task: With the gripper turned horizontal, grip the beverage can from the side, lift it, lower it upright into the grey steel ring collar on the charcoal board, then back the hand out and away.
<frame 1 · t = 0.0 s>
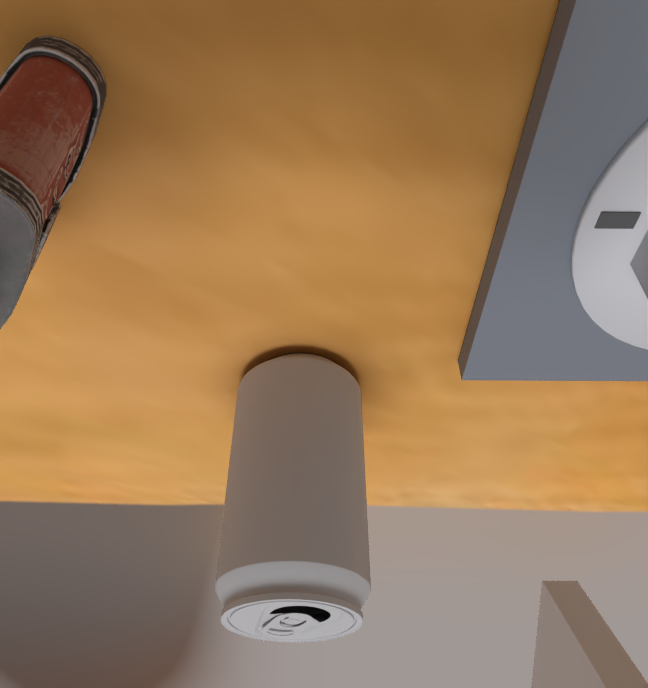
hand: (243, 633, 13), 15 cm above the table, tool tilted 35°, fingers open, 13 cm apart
brown piece: (36, 136, 21), on the table
beverage can: (299, 381, 32), on the table
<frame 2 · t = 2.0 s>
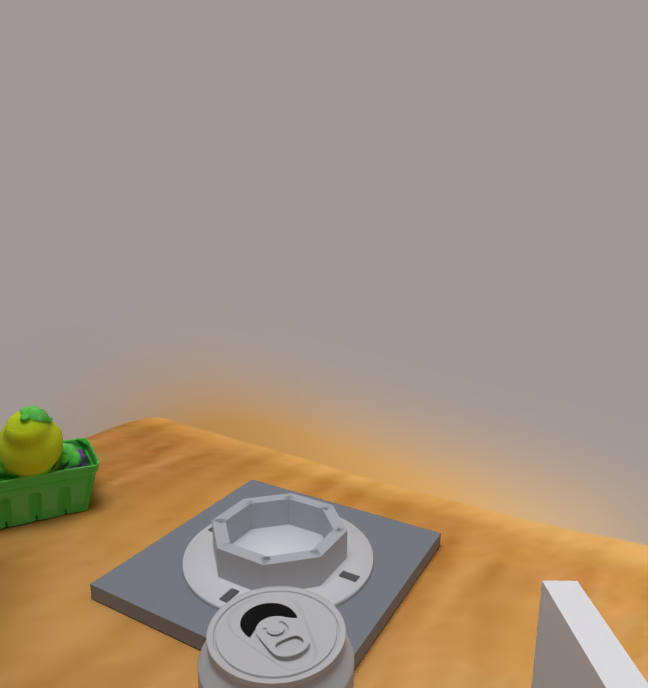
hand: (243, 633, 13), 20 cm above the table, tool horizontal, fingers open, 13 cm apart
fruit basket: (35, 514, 57), on the table
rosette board: (279, 570, 48), on the table
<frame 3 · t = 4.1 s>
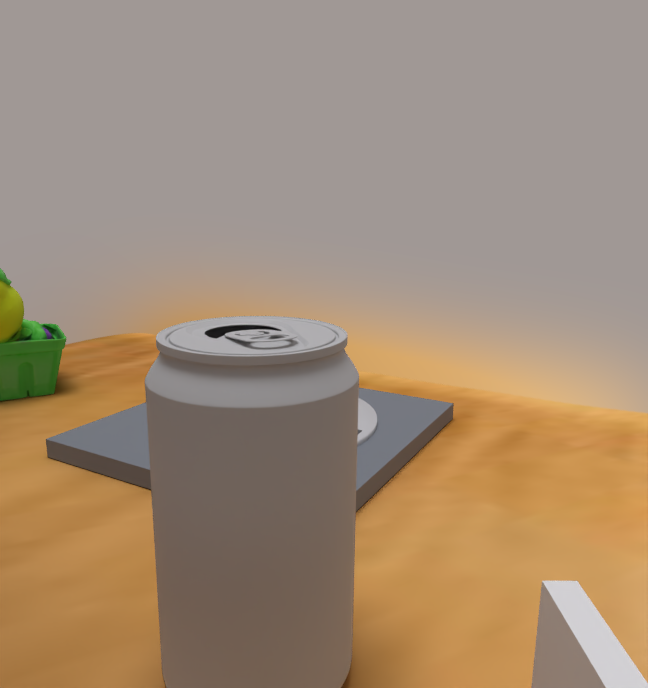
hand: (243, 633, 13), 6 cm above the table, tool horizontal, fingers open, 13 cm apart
beverage can: (259, 675, 21), on the table
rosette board: (268, 436, 42), on the table
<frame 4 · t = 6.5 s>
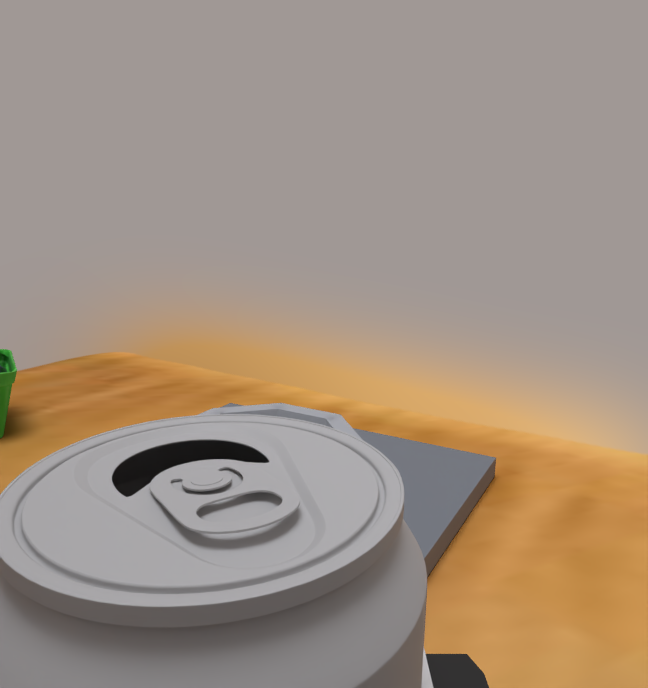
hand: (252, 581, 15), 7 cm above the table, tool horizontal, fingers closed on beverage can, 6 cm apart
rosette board: (262, 504, 32), on the table
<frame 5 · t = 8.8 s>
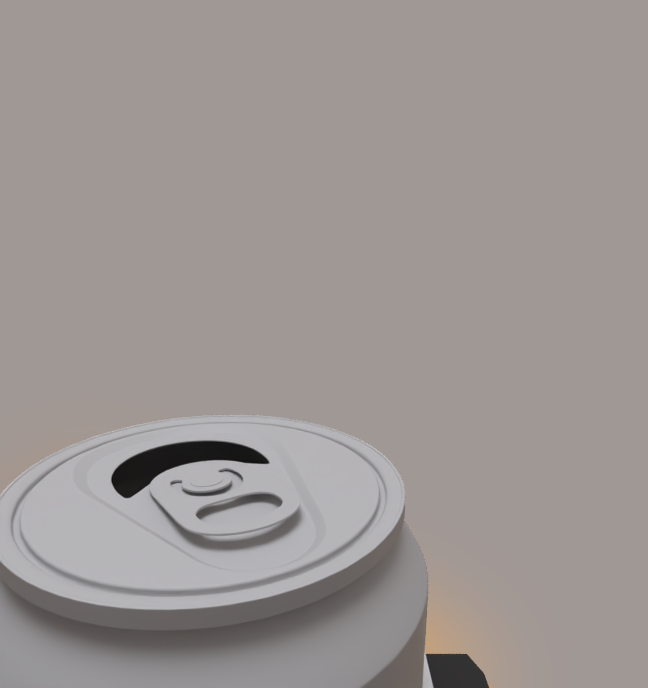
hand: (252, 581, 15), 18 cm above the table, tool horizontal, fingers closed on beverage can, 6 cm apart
when the fingers open (9 cm above the table, at t = 11.3 s): beverage can drops 1 cm, resting on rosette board.
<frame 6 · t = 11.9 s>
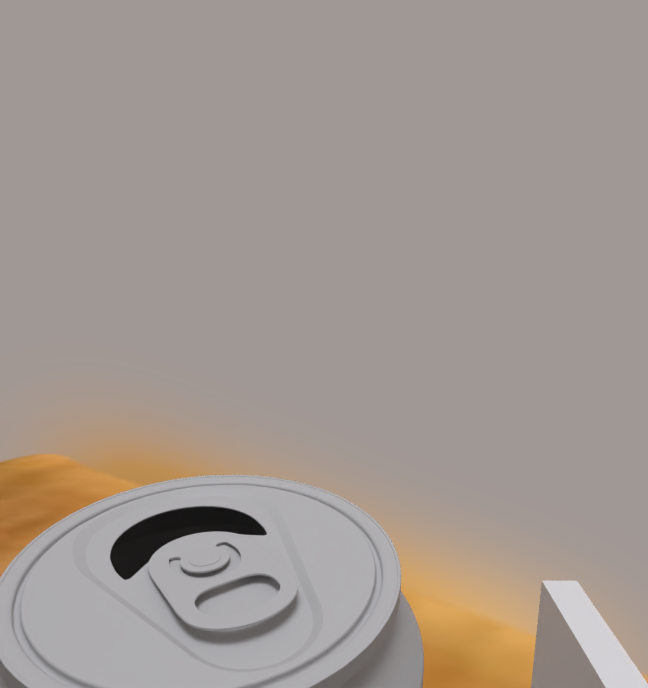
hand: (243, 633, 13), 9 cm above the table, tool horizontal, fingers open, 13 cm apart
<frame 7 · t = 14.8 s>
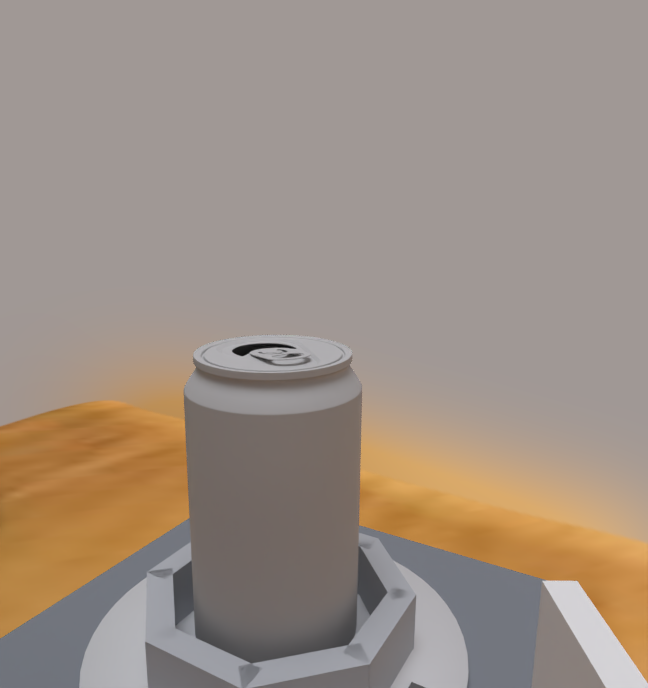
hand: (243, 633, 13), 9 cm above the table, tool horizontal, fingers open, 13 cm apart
beverage can: (277, 643, 24), point 1 cm above the table, touching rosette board
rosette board: (278, 669, 25), on the table
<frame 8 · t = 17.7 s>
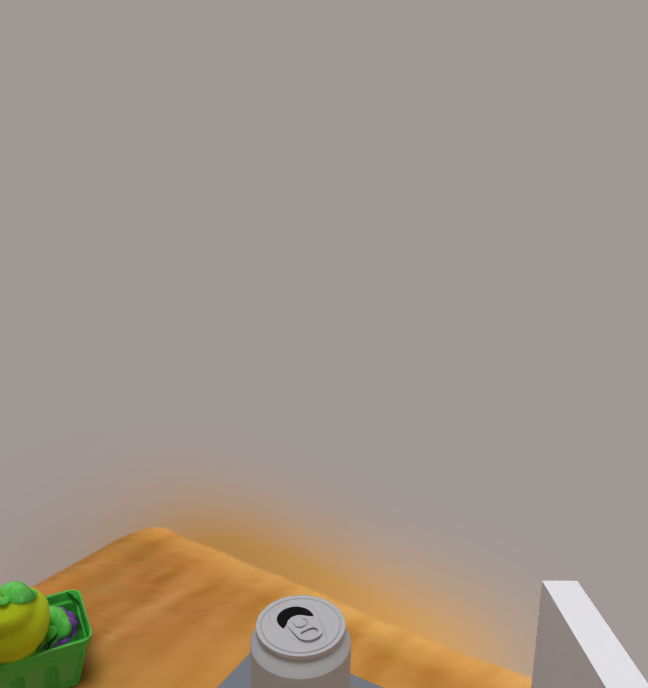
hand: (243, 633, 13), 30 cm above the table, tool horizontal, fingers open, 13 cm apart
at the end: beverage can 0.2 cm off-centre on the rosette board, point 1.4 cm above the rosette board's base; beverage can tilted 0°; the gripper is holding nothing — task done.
